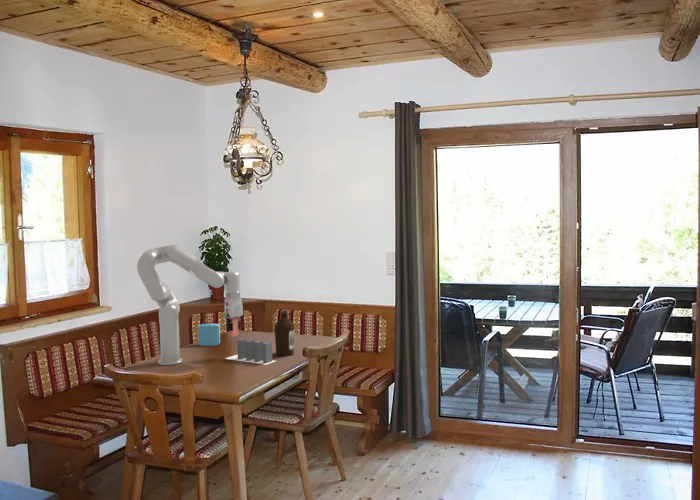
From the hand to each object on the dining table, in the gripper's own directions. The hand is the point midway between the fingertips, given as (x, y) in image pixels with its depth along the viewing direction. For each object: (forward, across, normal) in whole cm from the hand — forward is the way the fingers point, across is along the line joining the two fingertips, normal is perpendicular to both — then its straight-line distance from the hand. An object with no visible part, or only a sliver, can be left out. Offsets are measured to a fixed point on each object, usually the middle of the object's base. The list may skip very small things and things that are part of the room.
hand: (233, 329), depth 342 cm
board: (+16, 0, -11) cm, 19 cm away
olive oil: (+17, +18, -20) cm, 31 cm away
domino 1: (+15, 0, -5) cm, 16 cm away
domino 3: (+15, 0, -16) cm, 22 cm away
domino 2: (+15, 0, -11) cm, 18 cm away
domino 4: (+15, 0, -22) cm, 26 cm away
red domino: (+3, 0, 0) cm, 3 cm away
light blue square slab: (+16, +20, +36) cm, 44 cm away
